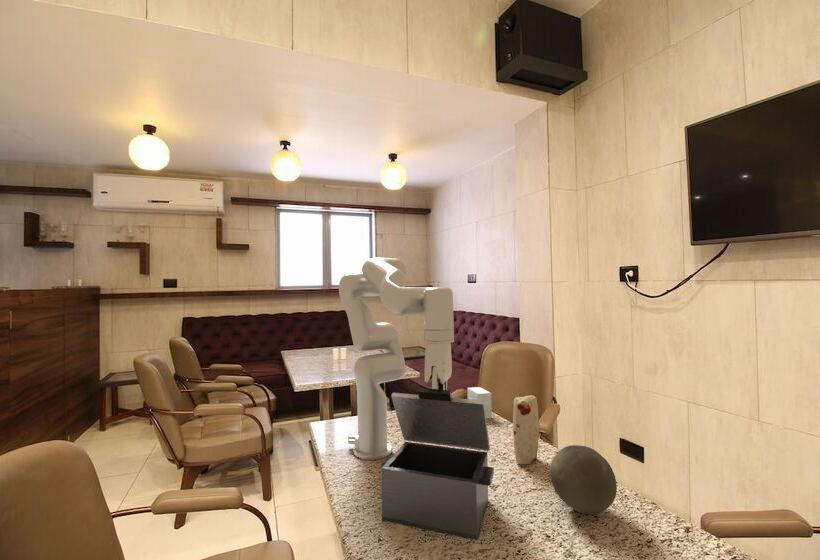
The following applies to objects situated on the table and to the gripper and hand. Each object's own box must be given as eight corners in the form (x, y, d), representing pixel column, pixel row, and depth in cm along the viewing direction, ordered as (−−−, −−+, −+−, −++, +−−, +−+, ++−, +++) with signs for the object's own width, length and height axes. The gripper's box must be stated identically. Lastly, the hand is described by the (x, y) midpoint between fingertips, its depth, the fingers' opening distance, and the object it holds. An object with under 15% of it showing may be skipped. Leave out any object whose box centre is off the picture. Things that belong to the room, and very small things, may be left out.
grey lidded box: (373, 518, 89) (372, 466, 89) (398, 484, 104) (397, 440, 104) (487, 542, 80) (486, 484, 80) (497, 501, 95) (496, 453, 95)
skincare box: (492, 418, 155) (491, 392, 155) (478, 420, 154) (477, 393, 154) (480, 410, 165) (480, 386, 166) (467, 412, 164) (466, 387, 164)
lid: (389, 389, 95) (390, 385, 96) (404, 440, 104) (405, 436, 105) (481, 396, 87) (482, 393, 88) (489, 451, 96) (490, 447, 97)
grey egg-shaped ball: (562, 489, 100) (561, 432, 101) (622, 509, 91) (621, 445, 92) (542, 515, 89) (541, 450, 90) (609, 539, 80) (607, 468, 81)
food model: (526, 470, 111) (525, 401, 111) (507, 462, 116) (506, 396, 117) (545, 460, 117) (543, 395, 118) (526, 453, 122) (524, 390, 123)
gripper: (432, 332, 105) (434, 399, 105) (415, 339, 91) (417, 417, 91) (459, 332, 103) (461, 401, 102) (446, 340, 89) (448, 419, 88)
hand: (440, 408), depth 96 cm, fingers closed
